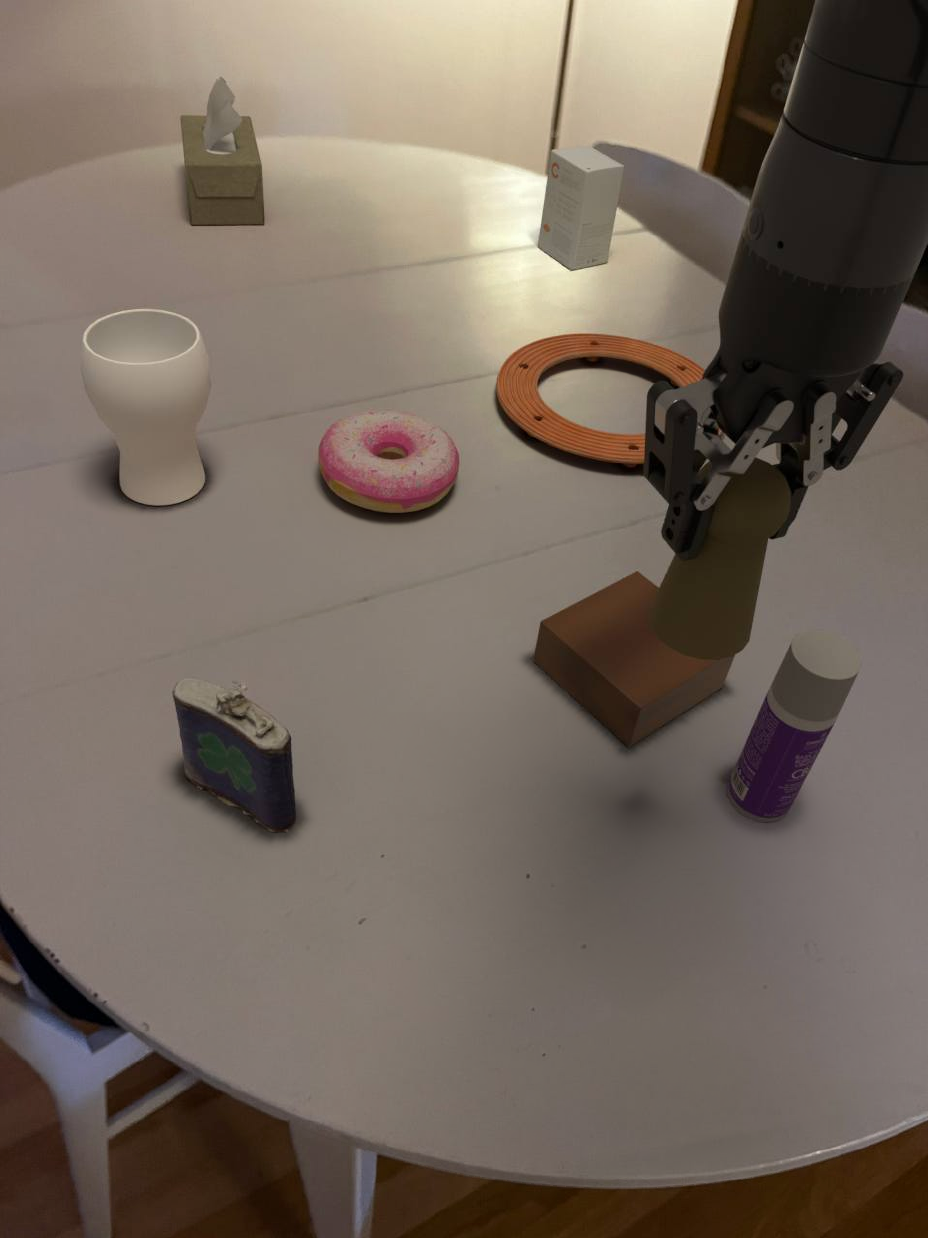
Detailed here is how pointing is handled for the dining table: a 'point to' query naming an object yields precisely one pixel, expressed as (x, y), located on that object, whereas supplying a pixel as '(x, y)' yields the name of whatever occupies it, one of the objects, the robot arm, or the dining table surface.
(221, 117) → the tissue box
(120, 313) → the cup
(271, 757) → the flask
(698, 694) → the walnut block
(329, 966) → the dining table surface
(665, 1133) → the dining table surface
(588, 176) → the small box
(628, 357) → the ring
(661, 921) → the dining table surface
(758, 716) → the container
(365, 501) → the donut
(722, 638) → the olive pawn
